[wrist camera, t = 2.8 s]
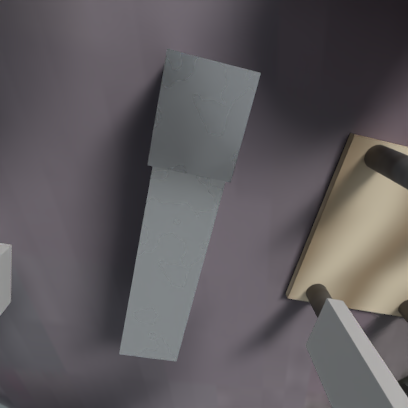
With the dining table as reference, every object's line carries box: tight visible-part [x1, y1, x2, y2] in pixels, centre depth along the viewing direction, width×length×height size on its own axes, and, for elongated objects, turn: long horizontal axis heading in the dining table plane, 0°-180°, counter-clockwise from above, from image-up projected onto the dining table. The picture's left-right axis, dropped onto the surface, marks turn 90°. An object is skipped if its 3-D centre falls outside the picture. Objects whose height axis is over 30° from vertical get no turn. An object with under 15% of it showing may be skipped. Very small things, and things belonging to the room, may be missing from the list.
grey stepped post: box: [119, 49, 261, 361], centre depth 19 cm, size 17×4×6 cm, turn 167°
